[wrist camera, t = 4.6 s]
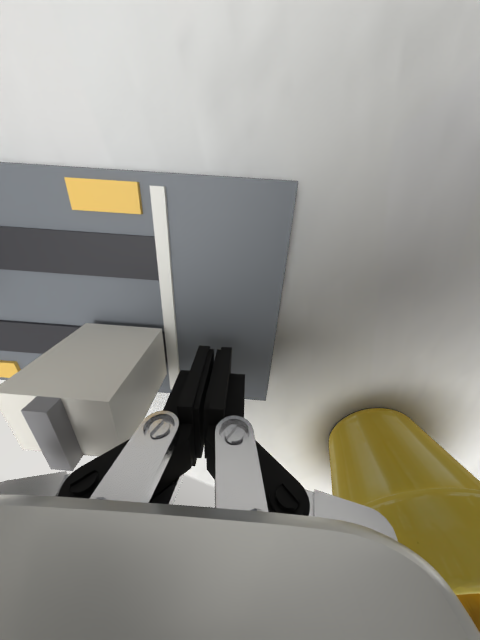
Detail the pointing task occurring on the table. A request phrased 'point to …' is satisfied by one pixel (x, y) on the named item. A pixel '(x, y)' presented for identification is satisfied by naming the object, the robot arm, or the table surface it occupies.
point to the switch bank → (143, 262)
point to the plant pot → (413, 493)
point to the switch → (85, 392)
